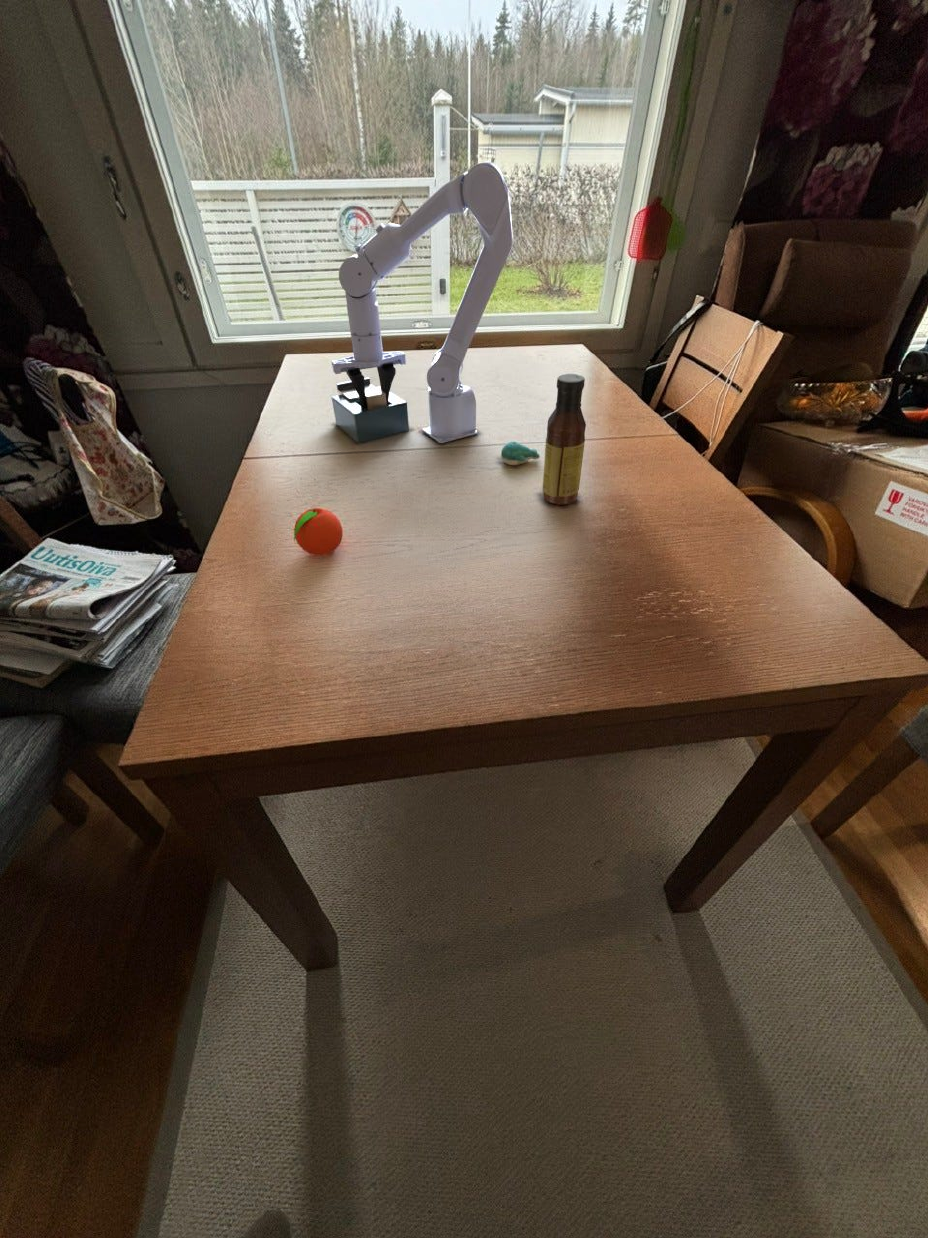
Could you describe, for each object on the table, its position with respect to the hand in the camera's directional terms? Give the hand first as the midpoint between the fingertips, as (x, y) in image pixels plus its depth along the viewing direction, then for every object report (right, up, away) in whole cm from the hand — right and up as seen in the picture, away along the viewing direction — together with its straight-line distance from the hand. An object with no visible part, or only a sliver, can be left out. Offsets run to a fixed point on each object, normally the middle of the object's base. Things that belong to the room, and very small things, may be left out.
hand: (374, 405), depth 105 cm
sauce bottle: (+35, -24, -17) cm, 46 cm away
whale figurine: (+30, -14, -7) cm, 33 cm away
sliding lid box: (-2, -3, +6) cm, 6 cm away
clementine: (-3, -35, -29) cm, 46 cm away
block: (0, -1, +1) cm, 1 cm away
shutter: (-4, +4, +4) cm, 7 cm away
